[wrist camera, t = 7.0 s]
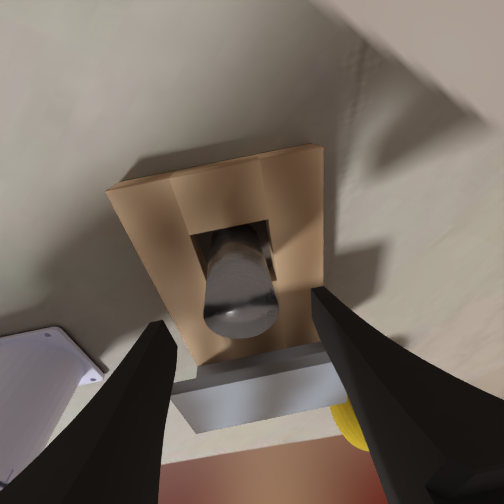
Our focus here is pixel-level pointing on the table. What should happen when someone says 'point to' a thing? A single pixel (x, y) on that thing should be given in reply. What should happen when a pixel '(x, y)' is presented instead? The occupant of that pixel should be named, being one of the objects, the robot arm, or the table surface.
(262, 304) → the peg
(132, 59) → the table surface
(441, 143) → the table surface
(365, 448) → the lemon
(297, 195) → the socket board
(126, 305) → the table surface
